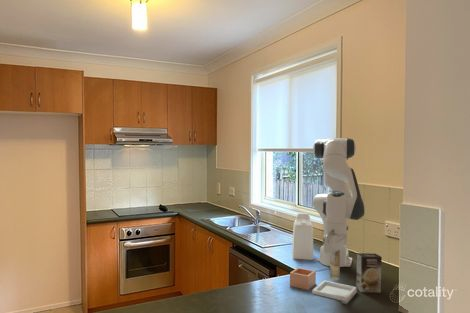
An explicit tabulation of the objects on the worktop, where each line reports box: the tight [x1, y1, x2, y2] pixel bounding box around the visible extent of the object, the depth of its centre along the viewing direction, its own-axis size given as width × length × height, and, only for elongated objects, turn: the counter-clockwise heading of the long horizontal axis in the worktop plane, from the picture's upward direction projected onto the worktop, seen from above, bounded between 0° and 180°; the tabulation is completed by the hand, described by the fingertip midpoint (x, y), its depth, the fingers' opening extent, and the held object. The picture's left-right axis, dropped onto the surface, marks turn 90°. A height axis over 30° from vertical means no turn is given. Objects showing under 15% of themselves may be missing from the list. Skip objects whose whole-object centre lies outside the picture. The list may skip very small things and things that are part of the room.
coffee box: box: [355, 252, 383, 293], centre depth 166 cm, size 9×6×16 cm
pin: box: [329, 250, 341, 281], centre depth 160 cm, size 4×4×12 cm
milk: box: [291, 212, 315, 261], centre depth 218 cm, size 12×12×26 cm
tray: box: [311, 279, 358, 305], centre depth 160 cm, size 15×15×2 cm
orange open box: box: [289, 267, 317, 291], centre depth 168 cm, size 9×9×7 cm
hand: (335, 259), depth 160 cm, fingers closed on pin, 4 cm apart
